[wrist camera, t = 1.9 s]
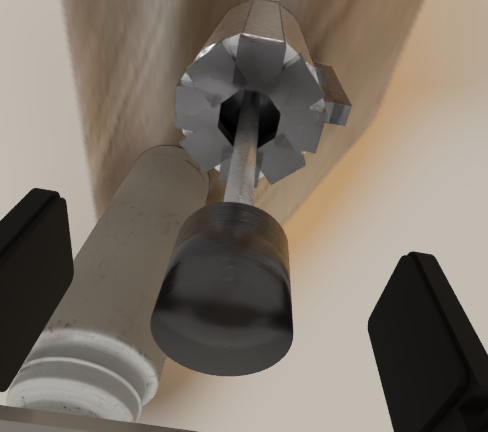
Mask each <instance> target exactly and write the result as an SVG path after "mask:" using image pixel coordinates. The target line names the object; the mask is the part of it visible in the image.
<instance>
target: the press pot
mask: <svg viewBox="0 0 488 432" xmlns="http://www.w3.org/2000/svg"><path fill="white" fill-rule="evenodd" d="M185 72H186V73H185V74H184V76H183V77H182V78H181V80H180V82H179V83H178V85H177V87H176V103H175V118H174V128H176V129H182V131H183V133H184V135H183V136H182V138H181V140H180V142H179V143H180V145H181V146H182V147H183V148H184V149H185V150H186V152H187V153H188V154H189V155H190V156H191V158H192V159H193V160H194V161H195V162H196V163H197V165H198V166H199V167H200V168H201V169H202V170H203V172H204V173H206V172H208V171H209V170H211V169H213V168H215V169H216V170H218V171H219V178H218V181H222V182H227V180H228V175H229V169H230V164H231V159H232V153H233V148H234V143H235V137H236V132H237V126H235V125H233V124H232V123H230V122H229V121H228V120H227V119H225V118H224V116H223V115H222V114H221V107H222V102H224V101H225V100H226V99H228V98H229V97H231V96H232V95H233V94H235V93H236V92H238V91H239V90H240V89H245V90H250V91H256V92H261V93H266V94H268V96H269V97H270V99H271V100H272V102H273V103H274V105H275V106H276V108H277V109H278V111H279V117H278V121H277V122H275V123H274V124H272V125H270V126H268V127H266V128H263V129H258V140H257V154H256V168H255V182H254V187H257V183H258V179H259V178H261V177H264V176H265V177H266V178H267V180H268V181H269V182H270V184H271V185H272V184H274V183H276V182H277V181H279V180H281V179H283V178H284V177H286V176H288V175H290V174H291V173H293V172H295V171H296V170H298V169H300V168H302V167H303V166H305V159H304V156H303V155H304V154H305V153H306V152H311V153H316V149H317V146H318V143H319V139H320V136H321V133H322V129H323V126H324V123H325V122H326V123H332V124H337V125H343V126H345V125H346V122H347V119H348V116H349V113H350V110H351V107H352V106H351V104H350V102H349V100H348V98H347V96H346V94H345V92H344V90H343V88H342V86H341V84H340V82H339V80H338V78H337V76H336V74H335V72H334V70H333V68H332V67H331V66H326V65H321V64H315V63H313V62H312V59H311V57H310V54H309V51H308V48H307V46H306V43H305V40H304V37H303V34H302V32H301V29H300V26H299V23H298V21H297V20H296V19H295V18H294V17H293V16H292V15H291V14H290V13H289V12H288V11H287V10H286V9H285V8H284V7H283V6H282V5H281V4H279V3H276V2H271V1H266V0H248V1H246V2H244V3H241V4H239V5H236V6H234V7H232V8H230V9H229V10H228V12H227V13H226V15H225V16H224V17H223V19H222V20H221V22H220V23H219V25H218V26H217V27H216V29H215V30H214V32H213V33H212V35H211V36H210V37H209V39H208V40H207V42H206V43H205V45H204V46H203V48H202V49H201V51H200V52H199V54H198V55H197V57H196V58H195V59H194V61H193V62H192V63H191V64H189V65H188V66H187V68H186V69H185Z"/></svg>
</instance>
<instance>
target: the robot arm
mask: <svg viewBox="0 0 488 432" xmlns="http://www.w3.org/2000/svg"><path fill="white" fill-rule="evenodd" d="M73 277H74V265H73V257H72V248H71V239H70V231H69V222H68V214H67V205H66V200H65V199H64V198H60V195H59V193H58V192H56V191H51V190H45V189H39V188H34V189H32V190H31V191H30V192H29V193H28V194H27V195H26V196H25V197H24V198H23V199H22V200H21V201H20V202H19V203H18V204H17V205H16V206H15V207H14V208H13V209H12V210H11V211H10V212H9V213H8V214H7V215H6V216H5V217H4V218H3V219H2V220H1V221H0V392H4V391H6V390H7V389H8V388H9V386H10V385H11V383H12V381H13V380H14V378H15V376H16V375H17V373H18V371H19V370H20V368H21V366H22V365H23V363H24V361H25V360H26V358H27V356H28V355H29V353H30V351H31V350H32V348H33V346H34V345H35V343H36V341H37V340H38V338H39V336H40V335H41V333H42V331H43V330H44V328H45V326H46V325H47V323H48V321H49V320H50V318H51V316H52V315H53V313H54V311H55V310H56V308H57V306H58V305H59V303H60V301H61V300H62V298H63V296H64V295H65V293H66V291H67V290H68V288H69V286H70V285H71V283H72V280H73ZM368 332H369V336H370V340H371V344H372V348H373V352H374V356H375V360H376V364H377V367H378V371H379V375H380V379H381V383H382V387H383V391H384V395H385V399H386V402H387V406H388V410H389V414H390V418H391V422H392V426H393V429H394V432H488V354H487V353H486V351H485V349H484V347H483V345H482V343H481V341H480V340H479V338H478V336H477V334H476V332H475V331H474V329H473V327H472V325H471V323H470V321H469V319H468V317H467V315H466V314H465V312H464V310H463V308H462V306H461V305H460V302H459V301H458V299H457V297H456V295H455V294H454V291H453V289H452V288H451V286H450V284H449V282H448V280H447V278H446V276H445V275H444V273H443V271H442V269H441V267H440V265H439V263H438V262H437V260H436V258H435V257H434V256H433V255H431V254H425V253H419V252H410V253H409V254H408V255H407V256H406V255H404V256H402V257H401V258H400V260H399V262H398V264H397V266H396V268H395V270H394V272H393V274H392V275H391V277H390V279H389V281H388V283H387V285H386V287H385V289H384V291H383V293H382V295H381V297H380V298H379V300H378V302H377V304H376V306H375V308H374V310H373V312H372V314H371V316H370V318H369V320H368ZM0 432H196V431H189V430H182V429H174V428H167V427H160V426H153V425H146V424H138V423H132V422H124V421H117V420H110V419H103V418H95V417H88V416H81V415H73V414H66V413H59V412H51V411H44V410H36V409H28V408H19V407H11V406H2V405H0Z"/></svg>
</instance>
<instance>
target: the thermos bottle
mask: <svg viewBox="0 0 488 432" xmlns="http://www.w3.org/2000/svg"><path fill="white" fill-rule="evenodd" d="M208 191H209V177H208V174H207V172H206V173H204V172H203V170H202V169H201V168H200V167H199V166H198V165H197V163H196V162H195V161H194V160H193V159H192V158H191V156H190V155H189V154H188V153H187V152H186V150H184V149H182V148H178V147H174V146H157V147H154V148H151V149H149V150H147V151H145V152H144V153H143V154H142V155H141V156H140V157H139V158H138V159H137V161H136V162H135V164H134V165H133V167H132V169H131V170H130V172H129V173H128V175H127V177H126V178H125V180H124V181H123V183H122V184H121V186H120V188H119V189H118V191H117V192H116V194H115V196H114V198H113V199H112V201H111V203H110V205H109V206H108V208H107V209H106V211H105V212H104V214H103V215H102V217H101V218H100V220H99V221H98V223H97V224H96V226H95V227H94V229H93V230H92V232H91V234H90V235H89V237H88V238H87V240H86V242H85V243H84V245H83V246H82V248H81V250H80V251H79V253H78V254H77V256H76V257H75V259H74V261H73V265H74V277H73V280H72V283H71V285H70V286H69V288H68V290H67V291H66V293H65V295H64V296H63V298H62V300H61V301H60V303H59V305H58V306H57V308H56V310H55V311H54V313H53V315H52V316H51V318H50V320H49V321H48V323H47V325H46V326H45V328H44V330H43V331H42V333H41V335H40V336H39V338H38V340H37V341H36V343H35V345H34V346H33V348H32V350H31V351H30V353H29V355H28V356H27V358H26V360H25V361H24V363H23V365H22V366H21V368H20V372H19V373H18V374H17V375H16V376H15V378H14V380H13V381H12V383H11V385H10V388H9V389H10V390H9V391H8V395H7V406H11V407H19V408H28V409H36V410H44V411H51V412H59V413H66V414H73V415H81V416H88V417H95V418H103V419H110V420H117V421H124V422H132V423H135V422H136V421H137V419H138V418H139V416H140V415H141V412H142V406H143V405H145V404H146V403H148V402H149V401H150V400H151V399H152V398H153V397H154V395H155V393H156V392H157V389H158V386H159V381H160V378H161V374H162V370H163V366H164V362H165V358H166V354H165V353H164V352H163V351H162V350H161V349H160V348H159V347H158V345H157V344H156V342H155V341H154V338H153V336H152V333H151V328H150V321H151V316H152V313H153V310H154V307H155V304H156V300H157V297H158V294H159V291H160V288H161V285H162V282H163V279H164V276H165V273H166V270H167V267H168V263H169V260H170V257H171V254H172V251H173V248H174V245H175V242H176V239H177V236H178V233H179V230H180V228H181V226H182V224H183V223H184V221H185V220H186V219H187V218H188V217H189V216H190V215H191V214H192V213H194V212H195V211H197V210H198V209H200V208H202V207H205V203H206V199H207V195H208Z"/></svg>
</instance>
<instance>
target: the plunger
mask: <svg viewBox="0 0 488 432" xmlns="http://www.w3.org/2000/svg"><path fill="white" fill-rule="evenodd" d="M221 114H222V115H223V116H224V118H225V119H227V120H228V121H229V122H230V123H232V124H233V125H235V126H237V132H236V137H235V143H234V148H233V153H232V159H231V164H230V169H229V175H228V180H227V185H226V191H225V196H224V201H223V202H220V203H215V204H210V205H207V206H205V207H202V208H200V209H198V210H197V211H195V212H194V213H192V214H191V215H190V216H189V217H188V218H187V219H186V220H185V221H184V223H183V224H182V226H181V228H180V230H179V233H178V236H177V239H176V242H175V245H174V248H173V251H172V254H171V257H170V260H169V263H168V267H167V270H166V273H165V276H164V279H163V282H162V285H161V288H160V291H159V294H158V297H157V300H156V304H155V307H154V310H153V313H152V316H151V321H150V328H151V333H152V336H153V338H154V341H155V342H156V344H157V345H158V347H159V348H160V349H161V350H162V351H163V352H164V353H165V354H166V355H167V356H168V357H169V358H171V359H172V360H174V361H175V362H177V363H179V364H180V365H182V366H184V367H187V368H189V369H192V370H194V371H198V372H201V373H205V374H210V375H217V376H241V375H248V374H253V373H256V372H260V371H262V370H265V369H267V368H269V367H271V366H273V365H274V364H276V363H277V362H279V361H280V360H281V359H282V358H283V357H284V356H285V355H286V353H287V352H288V350H289V349H290V347H291V344H292V340H293V320H292V303H291V286H290V268H289V251H288V241H287V237H286V235H285V233H284V230H283V229H282V227H281V226H280V224H279V223H278V222H277V221H276V220H275V219H274V218H273V217H272V216H271V215H269V214H268V213H266V212H265V211H263V210H261V209H259V208H257V207H254V206H253V196H254V182H255V168H256V154H257V140H258V129H263V128H266V127H268V126H270V125H272V124H274V123H275V122H277V121H278V117H279V111H278V109H277V108H276V106H275V105H274V103H273V102H272V100H271V99H270V97H269V96H268V94H266V93H261V92H256V91H250V90H245V89H240V90H239V91H238V92H236V93H235V94H233V95H232V96H231V97H229V98H228V99H226V100H225V101H224V102H222V107H221Z"/></svg>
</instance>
